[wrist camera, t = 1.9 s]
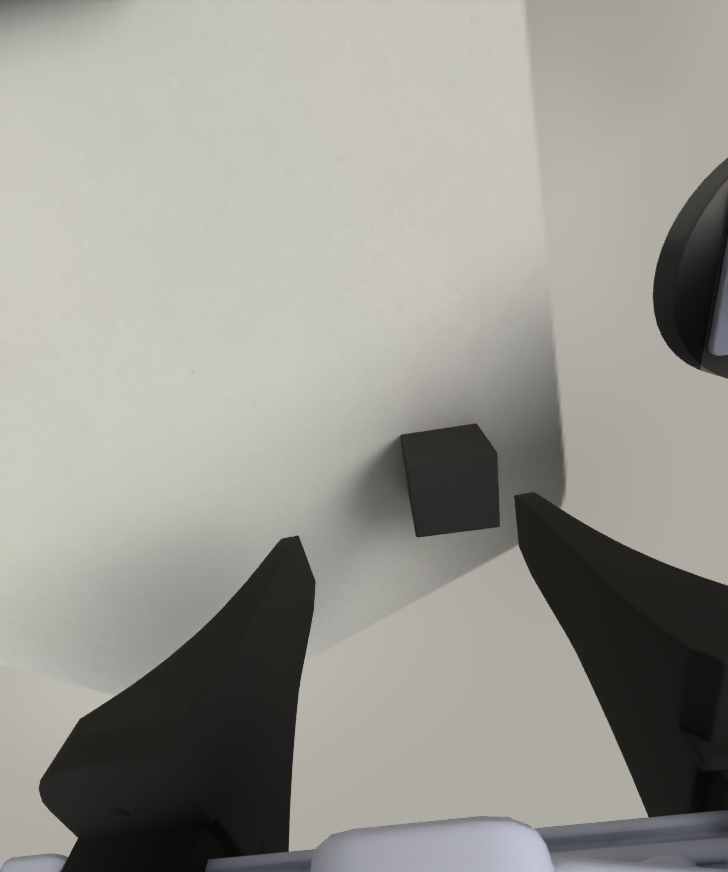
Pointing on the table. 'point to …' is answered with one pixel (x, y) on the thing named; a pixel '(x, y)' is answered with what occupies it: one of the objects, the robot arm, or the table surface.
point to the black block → (451, 480)
